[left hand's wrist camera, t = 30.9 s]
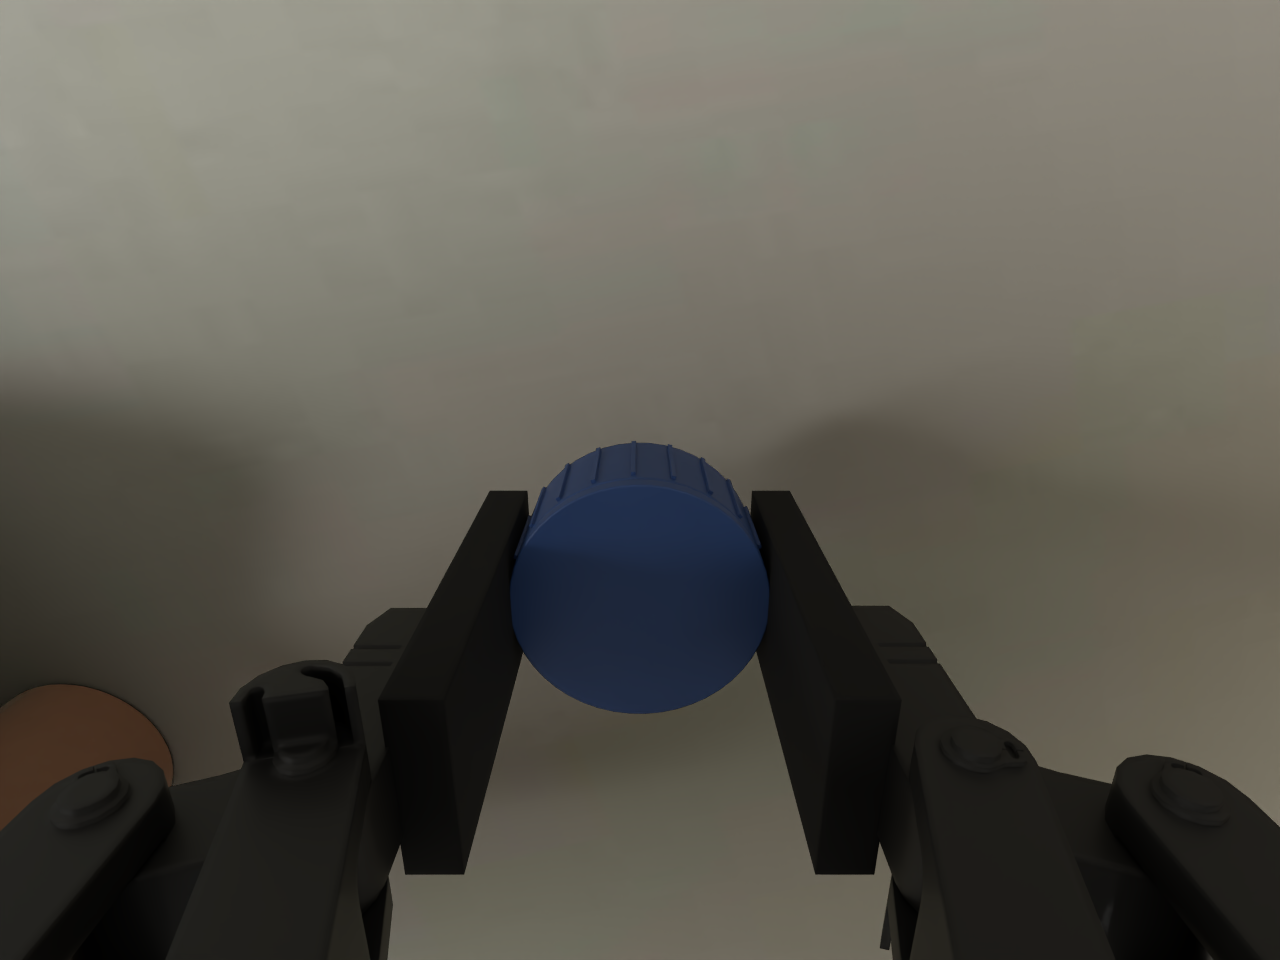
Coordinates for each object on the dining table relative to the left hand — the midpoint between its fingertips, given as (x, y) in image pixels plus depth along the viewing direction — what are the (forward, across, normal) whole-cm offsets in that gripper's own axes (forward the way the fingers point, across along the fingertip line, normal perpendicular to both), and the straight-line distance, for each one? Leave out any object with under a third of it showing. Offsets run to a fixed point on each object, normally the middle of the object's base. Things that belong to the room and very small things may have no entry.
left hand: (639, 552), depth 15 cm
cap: (-2, 0, 0) cm, 2 cm away
